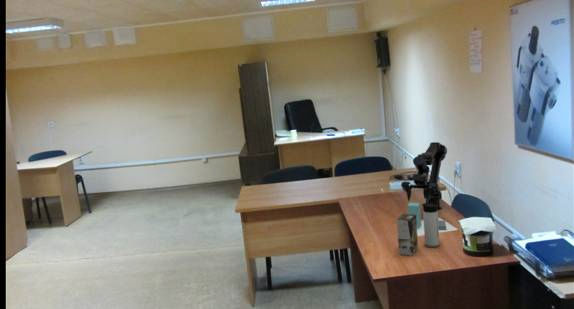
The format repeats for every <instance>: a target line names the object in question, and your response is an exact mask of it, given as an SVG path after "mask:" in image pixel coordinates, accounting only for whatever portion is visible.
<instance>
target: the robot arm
mask: <svg viewBox="0 0 574 309" xmlns="http://www.w3.org/2000/svg"><path fill="white" fill-rule="evenodd" d="M447 154H448V148H447V147H446V146H445V145H444V144H442V143H441V142H437V141H435V142H434V141H432V142H430V143H429V145H428V148H427V149H426V150H425V152H422V153H419V154H418V155H417V156H415V157H414V158H413V160H412V164H413V165H414V168H415V169H416V170H417V173H412V181H413V183H414V184H411V181H402V182H401V185H400V186H401V188H402V190H403V191H404V192H406V196H407V197H406V198H407V202H410V200H411V196H412V189H419V190H420V189H421V190H422V192H423V199H425V203H433V204H435V205H437V209H438V210H442V207H441V205H440V204H441V203H440V200H442V198H443V193H442V191H441V189H440V185H439V184H438V183H439V182H438V181H439V177H440V171H441V165H442V162H443V161H444V160H445V159H446V156H447ZM429 166H431V169H430V167H429ZM429 174H430V175H429Z"/></svg>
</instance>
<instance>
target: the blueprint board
mask: <svg viewBox="0 0 574 309" xmlns="http://www.w3.org/2000/svg"><path fill="white" fill-rule="evenodd" d="M438 221H445V224H446V230H439V234H440V233H446V232H453V231H458V230H459V229H458V228H456V227H455V226H453V225H452V224H450V223H449V222H447V221H446V220H444V219H442V218H441V217H438ZM422 236H423V237H424V236H425V234H424V219H421V227H420V228H419V229H417V237H422Z"/></svg>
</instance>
